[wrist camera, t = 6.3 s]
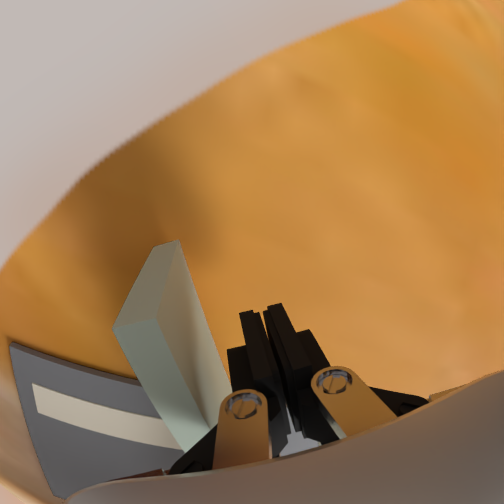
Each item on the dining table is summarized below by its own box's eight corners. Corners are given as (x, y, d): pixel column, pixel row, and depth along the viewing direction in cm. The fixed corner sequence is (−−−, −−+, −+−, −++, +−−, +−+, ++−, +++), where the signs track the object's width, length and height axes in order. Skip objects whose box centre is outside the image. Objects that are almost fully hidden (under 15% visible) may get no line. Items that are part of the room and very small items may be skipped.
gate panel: (263, 450, 19) (283, 535, 12) (238, 455, 19) (252, 541, 12) (185, 236, 14) (167, 314, 7) (148, 247, 14) (101, 331, 7)
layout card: (258, 524, 25) (259, 528, 24) (54, 492, 20) (53, 496, 20) (343, 404, 20) (347, 409, 19) (12, 341, 15) (8, 346, 14)
